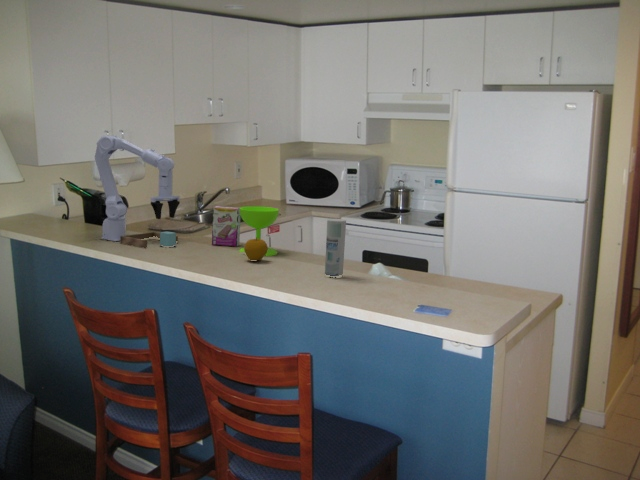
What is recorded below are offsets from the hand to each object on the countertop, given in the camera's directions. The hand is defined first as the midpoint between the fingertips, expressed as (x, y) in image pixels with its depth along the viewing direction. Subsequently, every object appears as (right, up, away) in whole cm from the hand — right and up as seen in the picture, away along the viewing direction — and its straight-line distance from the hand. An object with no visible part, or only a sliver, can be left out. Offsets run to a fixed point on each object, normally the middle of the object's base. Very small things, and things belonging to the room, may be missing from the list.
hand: (165, 218), depth 283 cm
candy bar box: (+26, -12, +1) cm, 28 cm away
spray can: (+71, -22, -51) cm, 90 cm away
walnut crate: (-6, -11, -3) cm, 13 cm away
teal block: (+3, -12, -9) cm, 15 cm away
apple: (+41, -18, -30) cm, 54 cm away
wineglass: (+41, -15, -12) cm, 45 cm away
